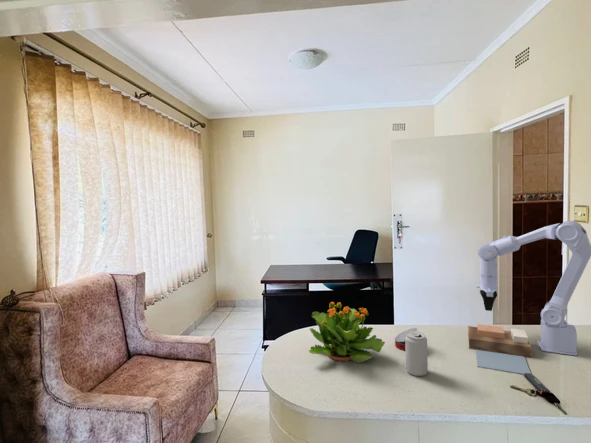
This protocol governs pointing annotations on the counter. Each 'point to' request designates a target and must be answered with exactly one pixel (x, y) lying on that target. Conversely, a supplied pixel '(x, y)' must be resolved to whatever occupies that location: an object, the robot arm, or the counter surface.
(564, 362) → the counter surface
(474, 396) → the counter surface
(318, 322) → the potted flower
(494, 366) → the mat
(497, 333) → the terracotta tile
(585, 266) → the robot arm
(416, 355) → the beverage can
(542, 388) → the usb stick
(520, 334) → the cream tile
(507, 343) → the brown wooden block
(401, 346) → the canned food
